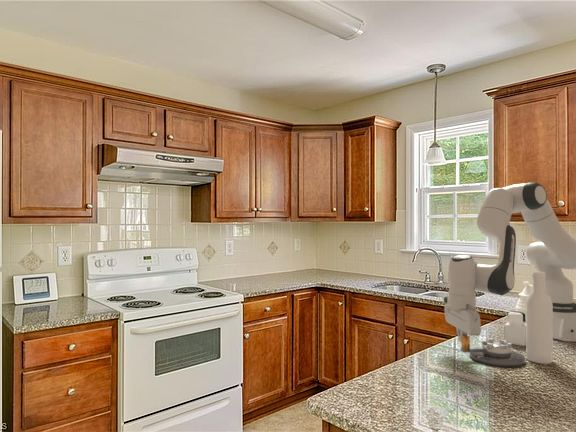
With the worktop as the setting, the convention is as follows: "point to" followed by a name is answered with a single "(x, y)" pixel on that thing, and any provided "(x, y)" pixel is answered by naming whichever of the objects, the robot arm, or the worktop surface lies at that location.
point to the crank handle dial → (488, 347)
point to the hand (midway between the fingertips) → (462, 341)
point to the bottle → (539, 323)
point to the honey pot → (524, 298)
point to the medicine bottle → (515, 328)
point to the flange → (499, 359)
